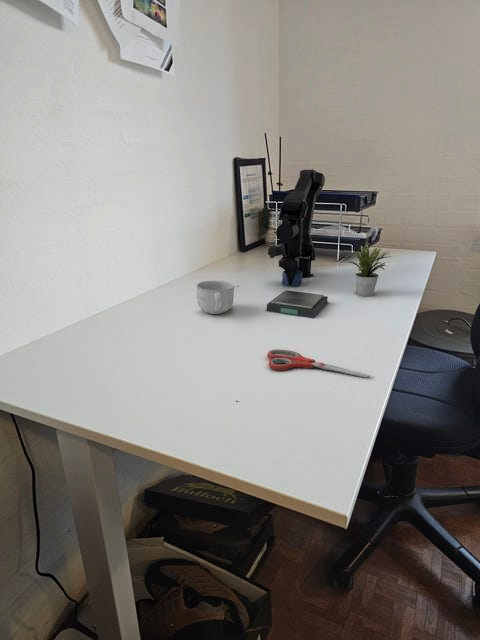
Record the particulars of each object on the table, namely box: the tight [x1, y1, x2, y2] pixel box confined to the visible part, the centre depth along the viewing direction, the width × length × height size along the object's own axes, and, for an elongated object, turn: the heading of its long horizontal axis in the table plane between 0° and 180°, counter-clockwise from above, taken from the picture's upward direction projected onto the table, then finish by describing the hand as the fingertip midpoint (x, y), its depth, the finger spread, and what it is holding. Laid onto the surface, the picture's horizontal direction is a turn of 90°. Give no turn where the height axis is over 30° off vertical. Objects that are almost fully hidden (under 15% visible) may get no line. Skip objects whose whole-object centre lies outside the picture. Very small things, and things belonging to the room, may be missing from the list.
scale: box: [266, 291, 329, 319], centre depth 118 cm, size 14×14×2 cm
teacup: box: [195, 280, 235, 315], centre depth 114 cm, size 14×11×8 cm
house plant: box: [347, 243, 392, 297], centre depth 125 cm, size 14×14×16 cm
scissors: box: [266, 348, 370, 378], centre depth 84 cm, size 8×21×2 cm, turn 78°
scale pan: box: [270, 289, 325, 309], centre depth 118 cm, size 12×12×1 cm
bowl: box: [281, 270, 303, 288], centre depth 139 cm, size 7×7×4 cm
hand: (292, 281), depth 140 cm, fingers closed on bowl, 7 cm apart
